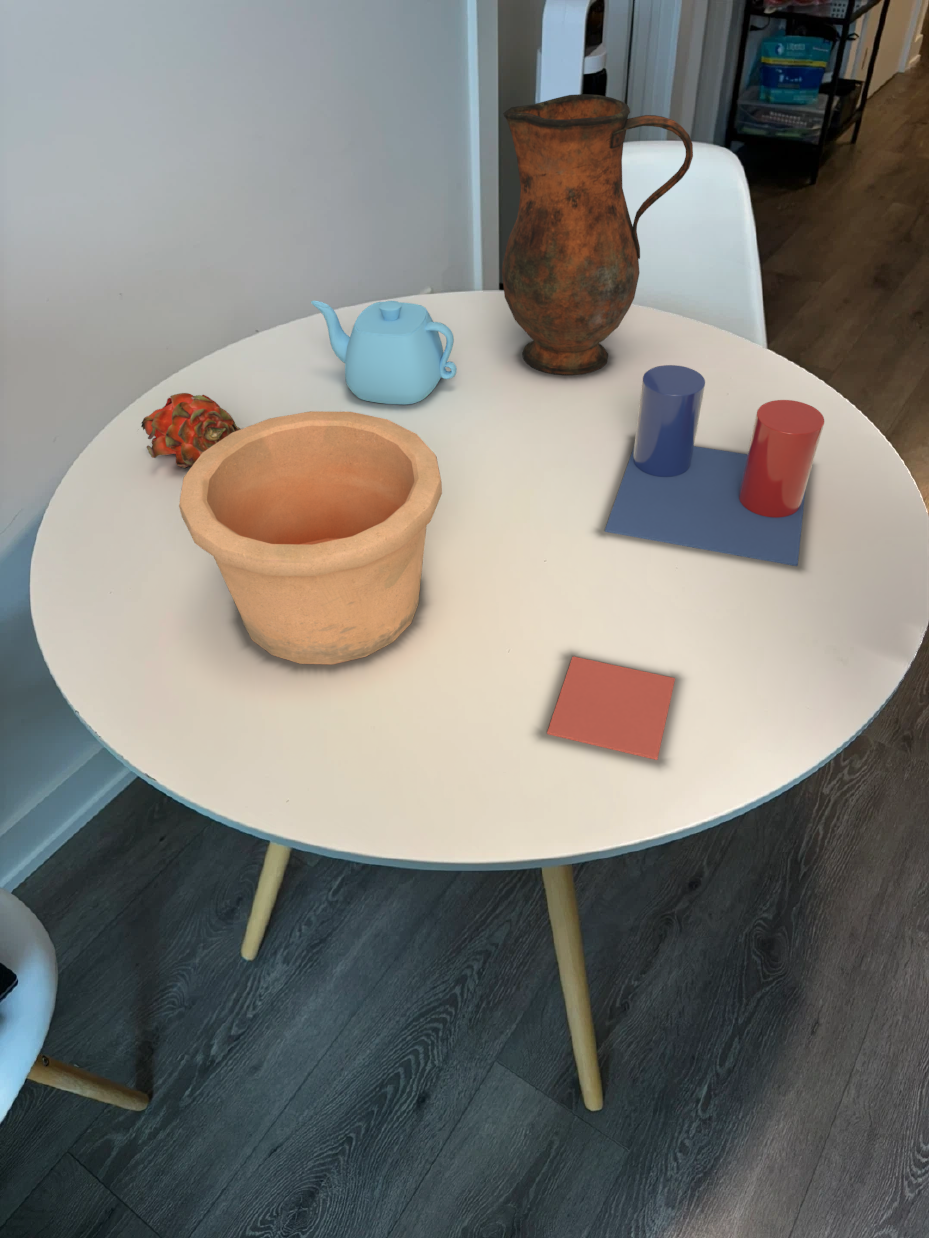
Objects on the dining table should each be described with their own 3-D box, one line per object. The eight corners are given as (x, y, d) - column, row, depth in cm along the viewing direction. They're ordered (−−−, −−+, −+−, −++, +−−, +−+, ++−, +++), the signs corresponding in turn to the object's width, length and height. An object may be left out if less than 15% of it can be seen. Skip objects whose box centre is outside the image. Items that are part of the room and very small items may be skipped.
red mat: (674, 681, 79) (675, 677, 79) (657, 761, 73) (657, 757, 73) (572, 659, 82) (572, 655, 81) (546, 734, 75) (547, 731, 75)
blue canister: (694, 450, 104) (709, 369, 97) (686, 481, 100) (700, 399, 93) (638, 441, 106) (648, 361, 99) (627, 472, 101) (637, 390, 95)
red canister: (802, 487, 99) (826, 404, 92) (799, 522, 94) (823, 438, 87) (741, 477, 100) (760, 395, 93) (735, 511, 96) (753, 428, 89)
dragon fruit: (247, 484, 105) (162, 478, 109) (264, 414, 106) (180, 411, 110) (203, 455, 97) (113, 450, 101) (222, 380, 98) (133, 378, 103)
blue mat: (807, 466, 102) (808, 463, 102) (796, 567, 90) (797, 564, 90) (636, 440, 107) (637, 437, 106) (604, 532, 94) (604, 529, 94)
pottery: (175, 592, 89) (135, 467, 79) (366, 506, 99) (352, 385, 89) (285, 728, 76) (255, 600, 67) (493, 614, 86) (493, 487, 76)
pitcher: (512, 324, 129) (516, 82, 108) (667, 337, 125) (702, 89, 104) (488, 383, 117) (488, 124, 96) (658, 399, 113) (696, 134, 93)
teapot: (327, 276, 116) (466, 287, 113) (337, 354, 123) (468, 367, 120) (291, 320, 107) (441, 334, 104) (304, 402, 114) (444, 417, 111)
